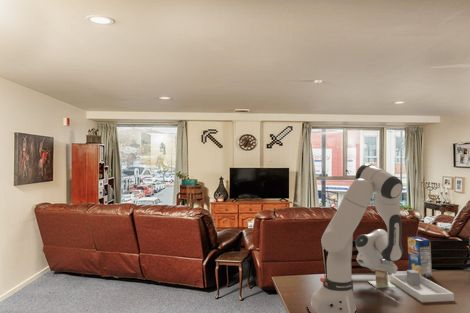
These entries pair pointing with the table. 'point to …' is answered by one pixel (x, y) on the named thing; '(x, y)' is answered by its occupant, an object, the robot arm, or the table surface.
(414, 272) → the grey box
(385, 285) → the sage board
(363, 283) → the table surface
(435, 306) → the table surface
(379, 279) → the banded box
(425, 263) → the beverage box
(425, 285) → the bin
